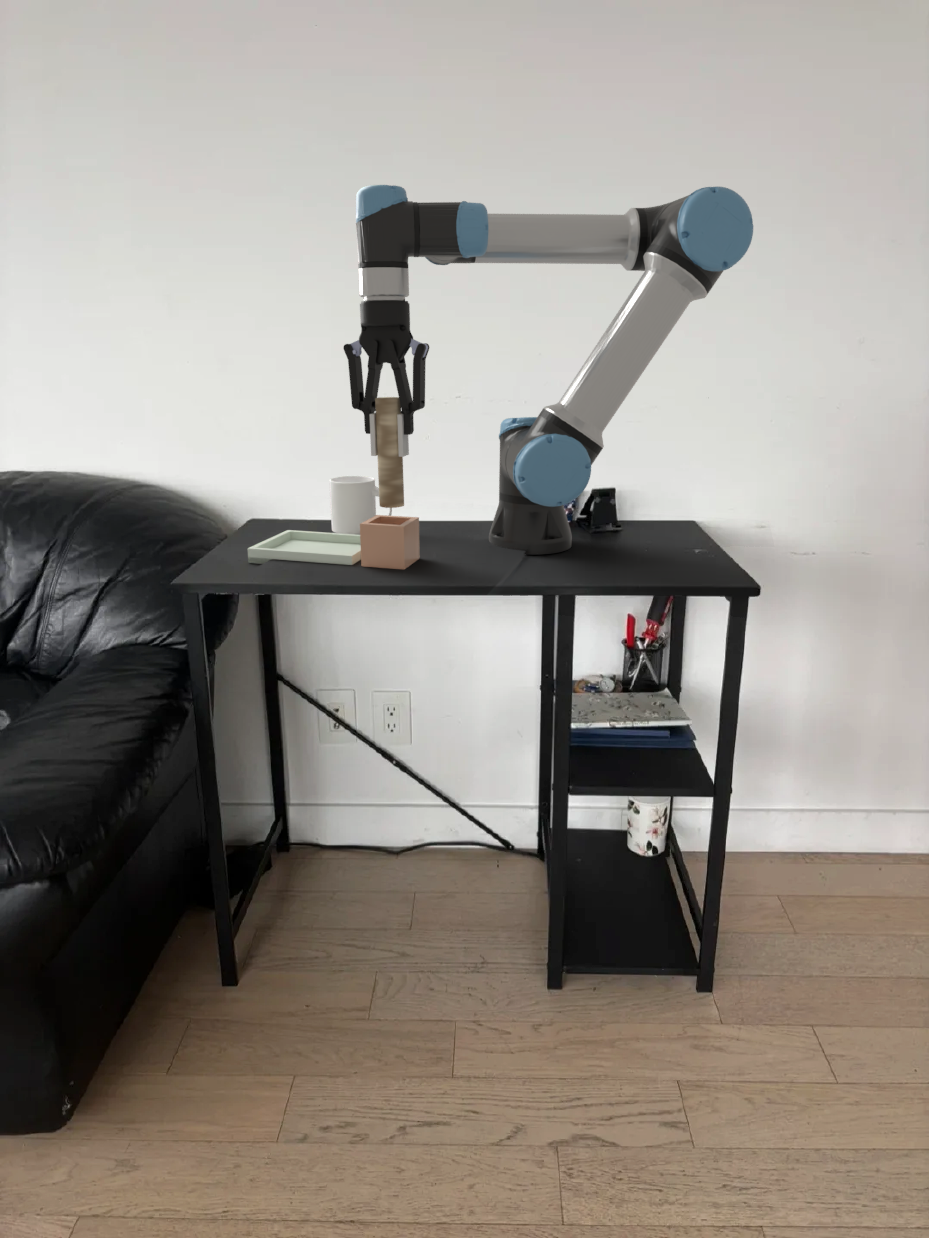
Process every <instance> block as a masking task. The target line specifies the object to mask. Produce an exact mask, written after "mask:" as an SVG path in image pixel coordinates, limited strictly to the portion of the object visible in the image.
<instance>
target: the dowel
mask: <svg viewBox="0 0 929 1238" xmlns="http://www.w3.org/2000/svg"><path fill="white" fill-rule="evenodd" d="M375 407H376V411H375V413H376V431H377V473H378V475H377V476H378V478H377V479H378V488H379V497H378V499H379V500H378V501H379V507H381V508H385V509H387V508H389V509H390V508H392V509H394V508H401V507H404V506H405V493H404V491H405V489H404V488H405V487H404V460H403V459H404V457H399V450H398V420H397V414H401V412H400V411H402V409H401V404H400V400H399V396H397V397H395V396H387V397H386V396H384V397H383V396H379V397H377V398H375Z"/></svg>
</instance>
